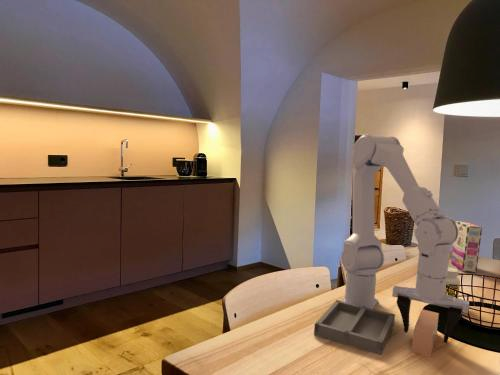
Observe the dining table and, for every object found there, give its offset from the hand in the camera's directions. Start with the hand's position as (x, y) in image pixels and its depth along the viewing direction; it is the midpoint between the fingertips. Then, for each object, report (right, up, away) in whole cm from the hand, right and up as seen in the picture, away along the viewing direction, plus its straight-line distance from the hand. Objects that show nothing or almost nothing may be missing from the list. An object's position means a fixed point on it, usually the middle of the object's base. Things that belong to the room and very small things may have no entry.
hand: (425, 335), depth 82 cm
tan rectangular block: (0, -2, 0) cm, 2 cm away
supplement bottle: (+16, 0, +22) cm, 27 cm away
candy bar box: (+40, +2, +58) cm, 70 cm away
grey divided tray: (-14, 0, +4) cm, 14 cm away
